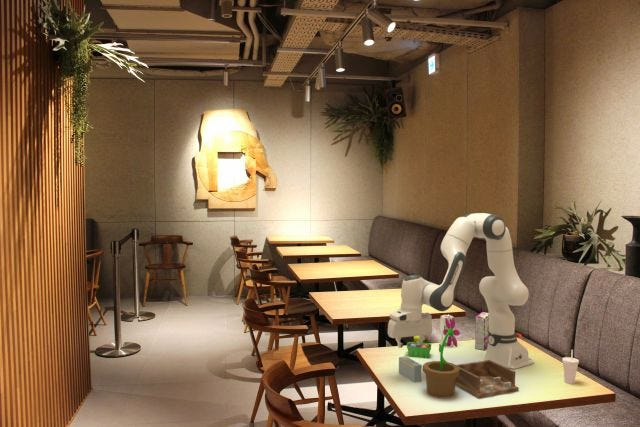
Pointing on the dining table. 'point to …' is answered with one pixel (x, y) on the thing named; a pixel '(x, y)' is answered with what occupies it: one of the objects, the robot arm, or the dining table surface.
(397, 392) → the dining table surface
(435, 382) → the flowerpot
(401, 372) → the grey box with stripe
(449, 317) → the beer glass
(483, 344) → the candy bar box
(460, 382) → the wooden box
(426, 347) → the fruit basket
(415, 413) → the dining table surface
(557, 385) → the dining table surface
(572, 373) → the smoothie
